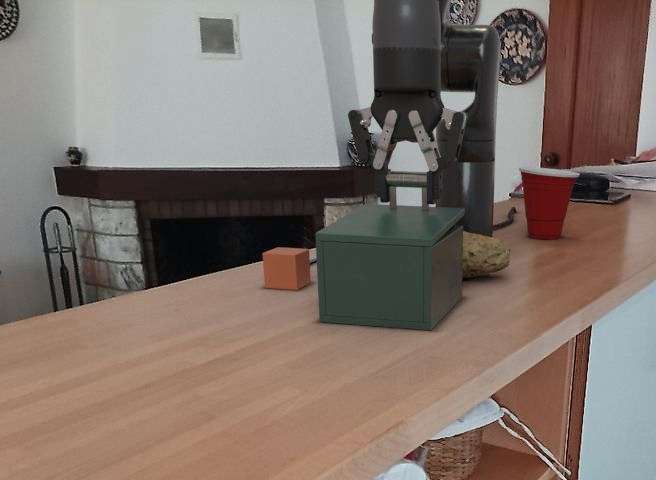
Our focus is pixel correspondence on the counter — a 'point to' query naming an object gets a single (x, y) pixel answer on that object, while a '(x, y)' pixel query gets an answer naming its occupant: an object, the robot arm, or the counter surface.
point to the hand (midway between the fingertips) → (408, 202)
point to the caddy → (389, 282)
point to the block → (286, 268)
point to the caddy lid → (395, 218)
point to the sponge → (483, 255)
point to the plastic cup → (546, 200)
